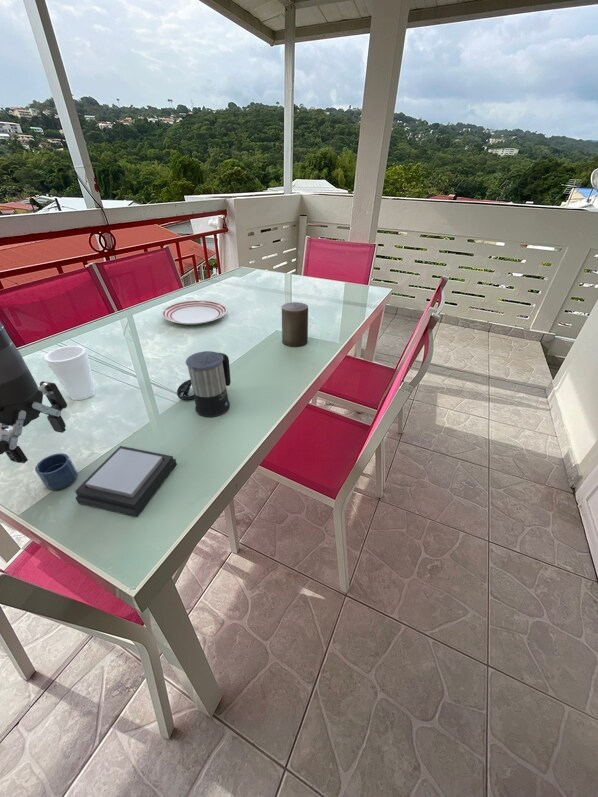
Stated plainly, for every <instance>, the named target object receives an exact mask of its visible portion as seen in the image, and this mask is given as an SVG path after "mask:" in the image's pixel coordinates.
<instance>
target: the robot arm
mask: <svg viewBox="0 0 598 797" xmlns="http://www.w3.org/2000/svg"><path fill="white" fill-rule="evenodd" d="M27 365H28V364H27V363H26V361H25V359H24V357H23V356H22V354H21V352H20V351H19V349H18V348H17V346H15V343H13V341H12V339H11V337H10V335H9V334H8V332H7V330H6V328H5V326H4V324H3V322H2V320H1V319H0V455H3V454H4V453H5V454H6V456H7V457H8V459H9V460H10V461H11V462H14V463H17V464H20V463H21V464H26V463H27V462H28V461H29V459H28V457H27V456H26V454H25V453H24V451H23V450H22V448H21V446H20V445H18V442H19V437H20V436H22V433H23V428H25V427H27V426H28V425H29V424H30V423H31V422H32V421H34V420H36V419H38V418H39V417H40V414H44V415H47V416H46V418H47V420H48V422H49V424H50V426H51V427H52V428H51V429H52V430H53V431H54V432H56V433H61V434H63V433H65V431H67V429H66V426H67V425H66V422H65V421H64V419H63V417H62V411H63V409H66V408H68V403H67V401H66V399H65V398H64V396H63V394H62V393H61V391H60V389H59V388H58V386H57V383H55V382H50V381H44V380H42V381H40V382H39V385H38V384H37V382H36V380H35V378H34V376H33V374H32V373H31V370H30V368H29V367H28V366H27ZM44 396H45V397H46V399H47V400H48V402H49V403H50V405H51V406H48V405H45V404H43V400H44ZM9 427H12V429H10V428H9Z"/></svg>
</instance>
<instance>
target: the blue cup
mask: <svg viewBox="0 0 598 797" xmlns="http://www.w3.org/2000/svg"><path fill="white" fill-rule="evenodd" d="M34 468H35V470H34V471H35V473H36V474H37V476H38V478H39V479H40V481H41V482H42V484H43V485H44V487H45V488H46V489H47V490H51V491H58V490H62V489H63V490H64V489H66V488H67V487H69V486H71V485H72V484H73V483H74V482H75V481H76V479H77V477H78V471H77V470H76V467H75V465H74V464H73V461H72V460H71V458H70V456H69V455H68V454H66V453H61V452H60V453H54V454H50V455H49V456H48V455H47V456H46V457H44V458H43V459H41V460H40V461H39V462H37V464H36V466H35V467H34Z"/></svg>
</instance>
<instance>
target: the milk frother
mask: <svg viewBox="0 0 598 797" xmlns="http://www.w3.org/2000/svg"><path fill="white" fill-rule="evenodd" d="M185 365H186V366H187V369H188V370H187V371H188V375H189V379H187V380H185V381H184V382H182V383H181V384H180V385H179V386H178V388H177V390H176V395H177V397H178V398H179V399H181V400H184V401H193V400H194V404H195V406H194V407H195V408H194V409H195V412H196V413H197V414H198V415H200V416H202V417H206V418H208V417H209V418H213V417H218V416H220V415H223V414H225V413H226V412H227V411H228V410H229V408H230V407H231V403H230V400H229V396H228V390H227V387H230V386H231V382H232V381H231V369H230V368H231V367H230V359H229V357H228V355H227V354H226V353H224V352H218V351H217V352H216V351H212V350H208V351H207V350H205V351H199V352H195V353H193V354H191V355H189V356H188V357H187V358H186V360H185ZM191 387H192V392H193V394H191V395H189V393H190V390H191Z"/></svg>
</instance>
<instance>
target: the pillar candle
mask: <svg viewBox="0 0 598 797" xmlns="http://www.w3.org/2000/svg"><path fill="white" fill-rule="evenodd" d="M280 307H281V340H282V341H281V343H282V344H283V345H284V346H287V347H291V348H299V347H303V346H306V345H307V344H308V340H309V339H308V337H309V305H308V304H307V303H303V302H300V301H293V302H292V301H291V302H287V303H284V304H282V305H281V306H280Z"/></svg>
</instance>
